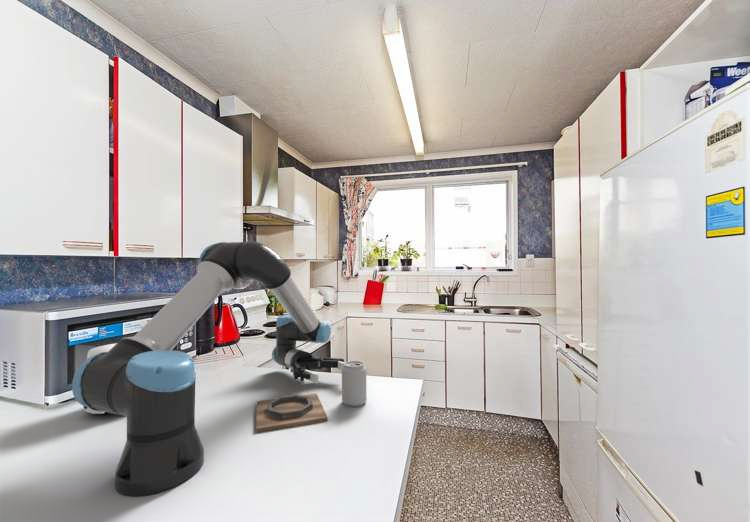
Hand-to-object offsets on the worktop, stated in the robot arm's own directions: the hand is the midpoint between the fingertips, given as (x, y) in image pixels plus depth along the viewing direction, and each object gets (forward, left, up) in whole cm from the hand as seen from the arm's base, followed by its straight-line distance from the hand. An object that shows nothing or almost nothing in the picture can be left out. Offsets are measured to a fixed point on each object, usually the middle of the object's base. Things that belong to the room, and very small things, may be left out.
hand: (334, 373), depth 107 cm
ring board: (-9, +15, -7) cm, 19 cm away
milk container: (+12, +62, -7) cm, 63 cm away
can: (-9, -4, -7) cm, 12 cm away
